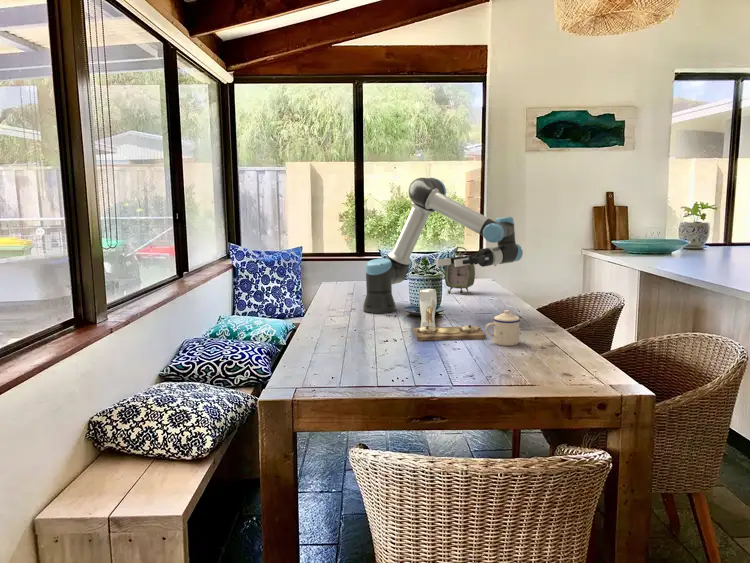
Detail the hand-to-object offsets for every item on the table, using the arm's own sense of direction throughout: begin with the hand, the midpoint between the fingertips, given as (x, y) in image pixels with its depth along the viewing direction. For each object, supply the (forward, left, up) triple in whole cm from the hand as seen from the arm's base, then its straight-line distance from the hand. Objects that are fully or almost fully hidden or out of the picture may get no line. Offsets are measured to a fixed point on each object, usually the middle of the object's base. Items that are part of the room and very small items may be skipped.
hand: (445, 263), depth 226 cm
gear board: (-2, -20, -25) cm, 32 cm away
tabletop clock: (+19, +70, -25) cm, 77 cm away
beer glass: (-8, -6, -25) cm, 27 cm away
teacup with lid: (+15, -33, -25) cm, 44 cm away
